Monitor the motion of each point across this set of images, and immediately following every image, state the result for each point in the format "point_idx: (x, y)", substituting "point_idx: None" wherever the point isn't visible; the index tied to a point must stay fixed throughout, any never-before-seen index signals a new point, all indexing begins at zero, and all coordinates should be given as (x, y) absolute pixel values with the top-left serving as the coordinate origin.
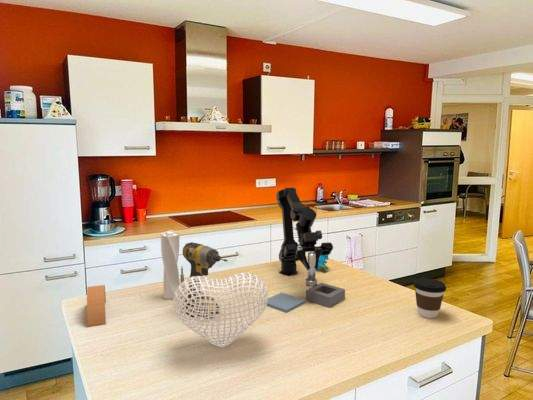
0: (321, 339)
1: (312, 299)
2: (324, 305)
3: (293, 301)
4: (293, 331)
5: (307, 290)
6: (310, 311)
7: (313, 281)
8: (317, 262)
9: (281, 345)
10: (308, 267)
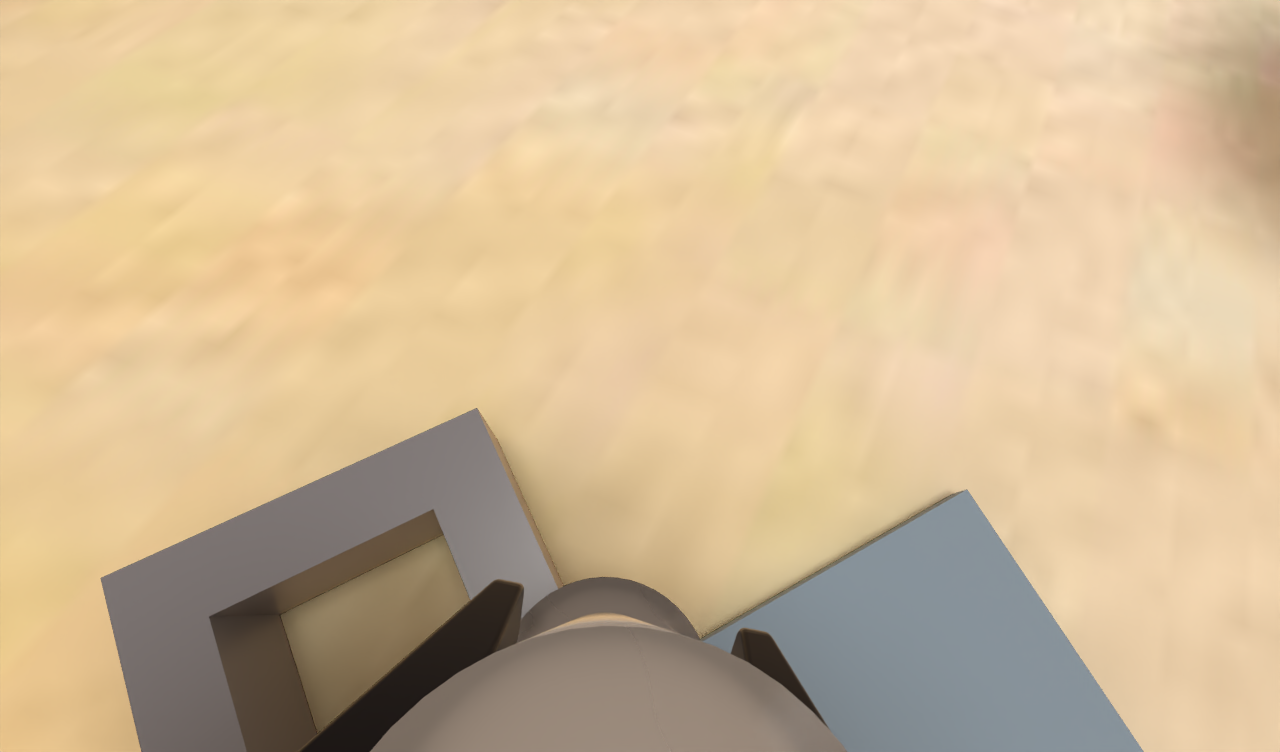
0: (831, 51)
1: None
2: (522, 495)
3: (827, 679)
4: (980, 192)
5: None
6: (717, 438)
7: (609, 592)
8: (403, 690)
9: (1099, 81)
10: (758, 649)
